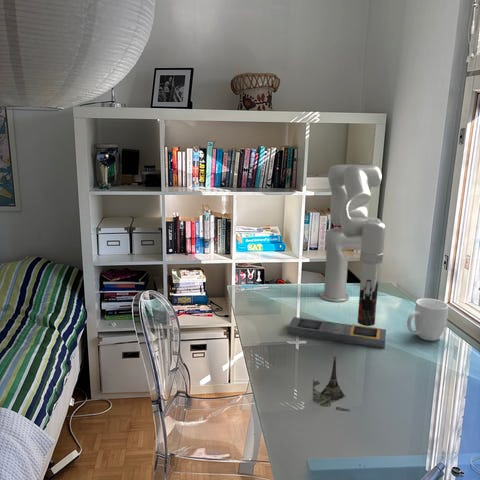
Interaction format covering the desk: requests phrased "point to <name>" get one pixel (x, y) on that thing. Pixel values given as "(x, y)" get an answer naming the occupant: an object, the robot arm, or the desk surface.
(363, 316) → the deodorant
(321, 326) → the holder
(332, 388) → the eiffel tower figurine
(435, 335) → the mug
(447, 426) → the desk surface
